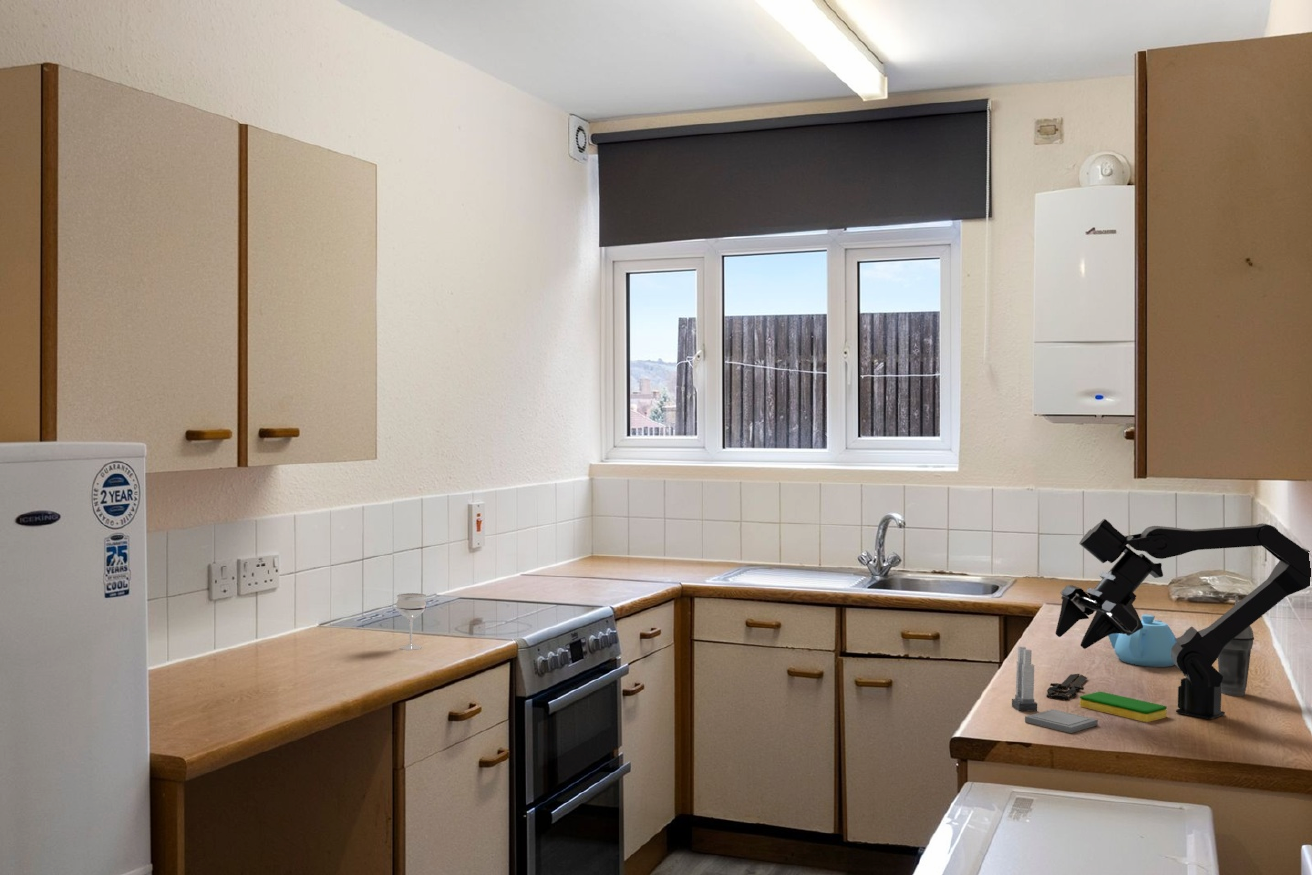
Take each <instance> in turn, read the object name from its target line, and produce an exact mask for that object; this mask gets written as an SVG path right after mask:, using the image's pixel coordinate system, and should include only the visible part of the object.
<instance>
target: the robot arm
mask: <svg viewBox="0 0 1312 875" xmlns="http://www.w3.org/2000/svg"><path fill="white" fill-rule="evenodd" d="M1079 545H1080V546H1081V547H1082V548H1084V549H1085V550H1086V551H1087V552H1088V553H1090V554H1091V555H1092V556H1093V557H1095V558H1096V560H1098V561H1099V562H1100V563H1102V564H1104V563H1107V562H1108V563H1110V564H1113V563H1115V564H1114V565H1113V566H1112V567H1111V568H1110V570H1109V571H1108V572H1105V571H1101V573H1100V574H1099V577H1100V578H1101V580H1100V581H1099V582H1098V583H1097V585H1096V586H1095V587H1094V588H1090V587H1088V588H1087V589H1086V590H1085V591H1084V589H1083V588H1081V587H1078V586H1075V585H1074V584H1073V585H1072V584H1071V585H1070V584H1069V585H1066V586H1065V587H1064V588H1063V589H1062V590H1061V592H1060V595H1061V598H1060V599H1061V600H1062V601H1061V608H1060V612H1059V616H1058V622H1057V625H1056V631H1055V635H1056V636H1057V637H1058V638H1060V637H1062V636H1063V635H1064V634H1066V633H1067V632H1068V631H1069V630H1071V628H1072V627H1073V626H1075V625H1076V624H1077V623H1078V621H1080V620H1087V619H1090V617H1089V616H1090V615H1092V614H1094V613H1095V614H1094V615H1093V617H1092V620H1091V621H1090V624H1089V626H1088V628H1087V630H1086V631H1085V634H1084V636H1083V637H1082V640H1081V643H1080V647H1082V649H1083V650H1086V649H1088V648H1089V647H1091V646H1092V645H1094V644H1096V643H1097V642H1099V641H1101V640H1103V639H1105V638H1106V637H1108V635H1110V634H1113V633H1119V634H1120V633H1121V634H1127V635H1128V636H1130V635H1131V634H1133V633H1135V632H1137V631H1138V630H1140V629H1142V628H1143V624H1142V622H1141V620H1142V619H1141V618H1140V616H1139V613H1138V612H1137V610H1136V609H1135V607H1134V605H1133V603H1134V602H1135V600H1137V598H1136V597H1137V594H1135V593H1134V592H1135V591H1137V589H1138V588H1139V587H1140V585H1142V583H1143V582H1144V581H1145V579H1147V578H1148V576H1149V575H1151V576H1152V577H1153V578H1154V579H1159V578H1163V576H1164V572H1163V570H1162V565H1163V563H1162V562H1158V563H1155V562H1153V561H1152V560H1150V558H1149V557H1147V556H1146V555H1145V554H1144V553H1140V554H1138V553H1136V552H1134V551H1133V550H1132V549H1134V550H1135V551H1140V552H1145V553H1146V554H1147V555H1149V556H1151V557H1152V558H1154V559H1160V560H1163V559H1168V558H1172V557H1178V556H1181V555H1184V554H1187V553H1190V552H1191V553H1192V552H1195V551H1202V550H1217V549H1231V548H1232V549H1233V548H1249V547H1263V548H1264V549H1265V550H1266V551H1268V552H1269V553H1270V554H1271V555H1272V556H1273V557H1275V559H1277V560H1279V561H1278V562H1277V564H1276V565H1275V566H1274V568H1273V569H1272V571H1271V573H1270V574H1269V576H1268V577H1267V579H1265V581H1263V582H1262V583H1261V584H1260V585H1259V586H1257V587H1255V589H1253V590H1252V591H1251V592H1250V593H1248V594H1247V595H1246V596H1245V597H1243V598H1242V599H1241V600H1240V601H1238V603H1237V604H1236V605H1235V604H1234V606H1232V607H1231V608H1230V609H1229V610H1228V611H1226V612H1225V613H1224V614H1223V615H1222V616H1220V617H1218V619H1216V620H1215V621H1214V622H1212V623H1211V624H1210V625H1209V626H1207V627H1205V628H1204V629H1203V628H1202V629H1199V630H1197V629H1196V628H1195V627H1193V626H1190V627H1189V628H1187V629H1186V630H1187V631H1186V630H1185V632H1184V633H1183V634H1182V635H1180V636H1179V637H1176V638H1175V641H1176V643H1175V644H1174V645H1173V647H1172V649H1171V657H1172V660H1173V662H1174V663H1175V664H1174V665H1175V666H1176V667H1177V668H1178V669H1179V670H1180V671H1181V672H1182V675H1183V676H1184V677H1183V678H1180V685H1178V687H1177V691H1178V692H1177V709H1175V713H1177V714H1181V715H1186V716H1192V717H1197V718H1201V719H1206V720H1213V719H1215V718H1216V719H1217V718H1219V717H1223V716H1225V714H1226V712H1225V711H1222V693H1221V686H1222V683H1221V682H1222V679H1223V676H1222V675H1221V674H1220V673H1219V670H1217V669H1216V668H1215V667H1214V666H1213V665H1214V663H1215V662H1216V661H1218V657H1219V655H1220V653H1221V652H1222V650H1223V649H1224V647H1225V646H1226V645H1227V644H1228V643H1229V642H1230V641H1231V640H1233V639H1234V638H1235V637H1236V636H1238V635H1239V634H1240V633H1241V632H1243V631H1244V630H1245V629H1246V628H1248V627H1249V626H1252V625H1253V624H1254V623H1255V622H1256V621H1257V620H1258V619H1260V618H1261V617H1262V616H1264V615H1265V614H1267V612H1269V611H1270V610H1271V609H1273V608H1274V607H1275V606H1276V605H1277V604H1279V603H1280V602H1281V601H1283V600H1285V598H1286V597H1288V596H1291V595H1293V594H1295V593H1298V592H1300V591H1303V590H1305V589H1307V588H1310V577H1311V568H1310V561H1309V553H1308V552H1310V551H1311V550H1310V551H1309V549H1307V548H1304V547H1301V546H1300V545H1299V544H1298V543H1295V542H1294V541H1293V540H1291V539H1290V538H1289V537H1287V536H1286V535H1284V534H1283V533H1282V532H1280V531H1279V529H1277V528H1276V527H1275V526H1274V525H1270V524H1268V523H1264V522H1263V523H1258V524H1254V525H1240V526H1226V527H1212V528H1211V527H1210V528H1208V527H1207V528H1197V529H1196V528H1195V529H1190V528H1181V527H1179V528H1178V527H1173V526H1172V527H1171V526H1164V525H1161V526H1160V525H1152V526H1148V527H1146V528H1145V529H1144V530H1143V531H1142V532H1141V533H1136V534H1129V535H1124V534H1123V533H1121V532H1120V531H1119V530H1118V529H1116V527H1114V525H1113V524H1112V523H1110V522H1109V520H1107V519H1105V518H1103V519H1102V520H1101V521H1100V522H1099V523H1097V524H1096V525H1095V526H1094V527H1092V528H1091V529H1089V530H1088V531H1087V532H1086V533H1085V535H1084V536H1083V537H1082V538H1081V539H1080V541H1079ZM1127 545H1128V546H1130V547H1131V548H1132V549H1131V548H1130V547H1128V546H1127ZM1123 553H1124V554H1123ZM1122 554H1123V555H1122ZM1121 555H1122V556H1121Z"/></svg>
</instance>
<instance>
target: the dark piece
mask: <svg viewBox="0 0 1312 875" xmlns="http://www.w3.org/2000/svg"><path fill="white" fill-rule="evenodd" d="M1086 680H1088V676H1087V677H1086V676H1085V675H1083V674H1080V673H1073V674H1069V675H1068V676H1067V677H1066V678H1065V679H1064V680H1063V681H1062V682H1061V683H1057V682H1056V683H1055V682H1054V683H1053V682H1050V686H1049V687H1048V688H1047V690H1046V693H1047V694H1046V696H1045V698H1047V699H1052V700H1053V699H1054V700H1061V701H1069V700H1070V696H1071V698H1072V699H1073V698H1075V697H1076V696H1077V693H1082V691H1084V690H1085V689H1084V688H1085V687H1084V686H1082V685H1083V684H1084V683H1085V681H1086ZM1067 688H1068V689H1067ZM1066 689H1067V690H1066Z"/></svg>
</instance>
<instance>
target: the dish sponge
mask: <svg viewBox="0 0 1312 875" xmlns="http://www.w3.org/2000/svg"><path fill="white" fill-rule="evenodd" d="M1079 707H1080V708H1081V707H1082V708H1085V709H1090V710H1094V711H1098V712H1102V713H1106V714H1110V715H1115V716H1120V717H1122V718H1128V719H1131V720H1136V721H1139V722H1143V723H1150V722H1152V721H1156V720H1161V719H1164V718H1167V708H1168V707H1167V705H1162V704H1158V703H1154V702H1150V701H1146V700H1139V699H1135V698H1131V697H1127V696H1122V695H1117V694H1113V693H1108V692H1104V691H1097V692H1092V693H1088V694H1083V695H1080V696H1079Z"/></svg>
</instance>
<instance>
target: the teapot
mask: <svg viewBox="0 0 1312 875" xmlns="http://www.w3.org/2000/svg"><path fill="white" fill-rule="evenodd" d="M1155 618H1156V617H1155V615H1153V614H1141V619H1140V620H1141V622H1142V624H1143V628H1142V629H1140V630H1138V631H1137V632H1135V633H1133V634H1131V635H1130V636H1128V635H1127V634H1121V633H1113V634H1110V635H1108V636H1107V637H1108V639H1109V642H1110V643H1111V644H1110V645H1111V647H1112V649H1113V650H1114V653H1115V655H1116V656H1117V658H1118V659H1120V660H1119V661H1121V662H1123V663H1126V662H1127V664H1129V663H1130V665H1134V664H1135V665H1134V666H1141V667H1151V668H1154V667H1155V668H1168V667H1172V666H1175V665H1176V664H1175V663H1174V662H1173V660H1172V657H1171V649H1172V647H1173V645H1174V644H1175V643H1176V641H1175V638H1177V637H1176V635H1175V633H1174V632H1173V631H1172V628H1171V627H1170V626H1169V624H1168V623H1166V622H1163V621H1162V620H1155ZM1187 630H1188V629H1186V630H1185V632H1186V631H1187Z"/></svg>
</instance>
